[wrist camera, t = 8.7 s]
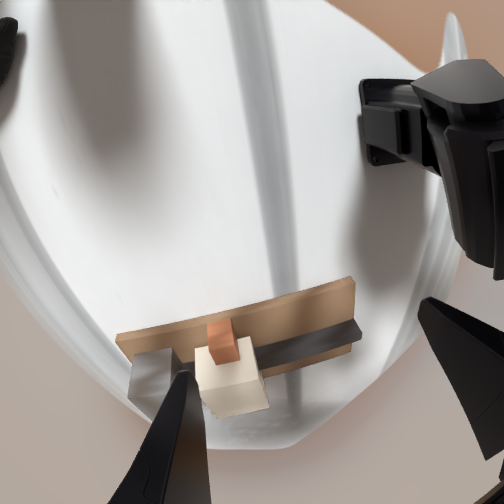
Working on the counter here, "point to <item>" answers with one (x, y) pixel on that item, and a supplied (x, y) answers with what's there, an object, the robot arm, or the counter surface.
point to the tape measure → (6, 43)
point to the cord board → (239, 326)
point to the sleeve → (231, 382)
